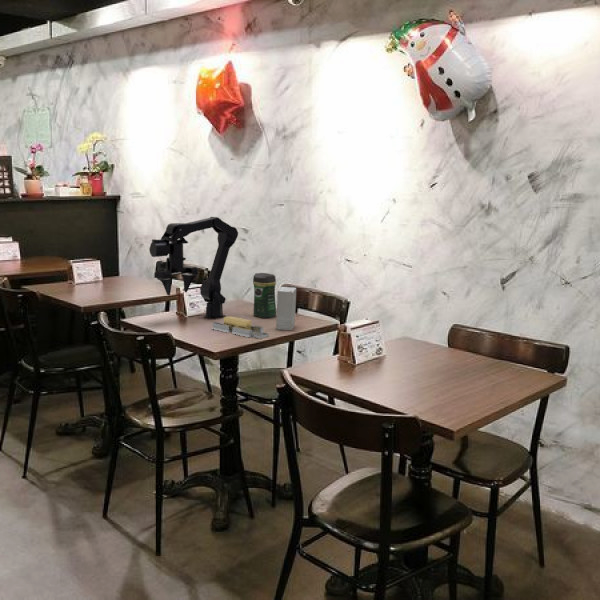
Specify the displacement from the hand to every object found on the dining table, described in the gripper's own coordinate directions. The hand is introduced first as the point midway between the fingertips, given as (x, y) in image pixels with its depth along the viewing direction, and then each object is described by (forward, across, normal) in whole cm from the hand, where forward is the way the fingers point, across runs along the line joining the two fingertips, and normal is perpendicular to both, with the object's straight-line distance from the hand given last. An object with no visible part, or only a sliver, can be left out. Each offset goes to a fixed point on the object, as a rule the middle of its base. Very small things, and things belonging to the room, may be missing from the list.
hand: (177, 293), depth 265 cm
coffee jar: (+12, -32, +20) cm, 39 cm away
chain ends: (+12, -4, +31) cm, 34 cm away
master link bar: (+11, -4, +29) cm, 31 cm away
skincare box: (+12, -21, +40) cm, 47 cm away
